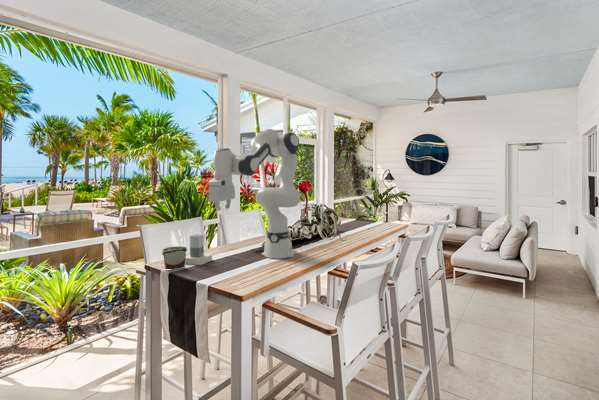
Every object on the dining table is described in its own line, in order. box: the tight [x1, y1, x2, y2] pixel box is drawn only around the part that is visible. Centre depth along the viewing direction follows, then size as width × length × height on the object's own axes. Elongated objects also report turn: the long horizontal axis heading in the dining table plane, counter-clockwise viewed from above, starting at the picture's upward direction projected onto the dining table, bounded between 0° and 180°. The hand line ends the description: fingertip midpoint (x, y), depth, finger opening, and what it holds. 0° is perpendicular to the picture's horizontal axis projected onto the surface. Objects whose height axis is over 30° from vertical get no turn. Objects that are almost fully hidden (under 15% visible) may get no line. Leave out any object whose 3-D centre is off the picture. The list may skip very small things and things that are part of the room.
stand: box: [185, 253, 213, 266], centre depth 184 cm, size 11×11×3 cm
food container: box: [161, 246, 188, 270], centre depth 172 cm, size 12×6×10 cm, turn 135°
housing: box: [189, 234, 205, 258], centre depth 184 cm, size 5×5×11 cm
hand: (223, 209), depth 172 cm, fingers open, 8 cm apart
